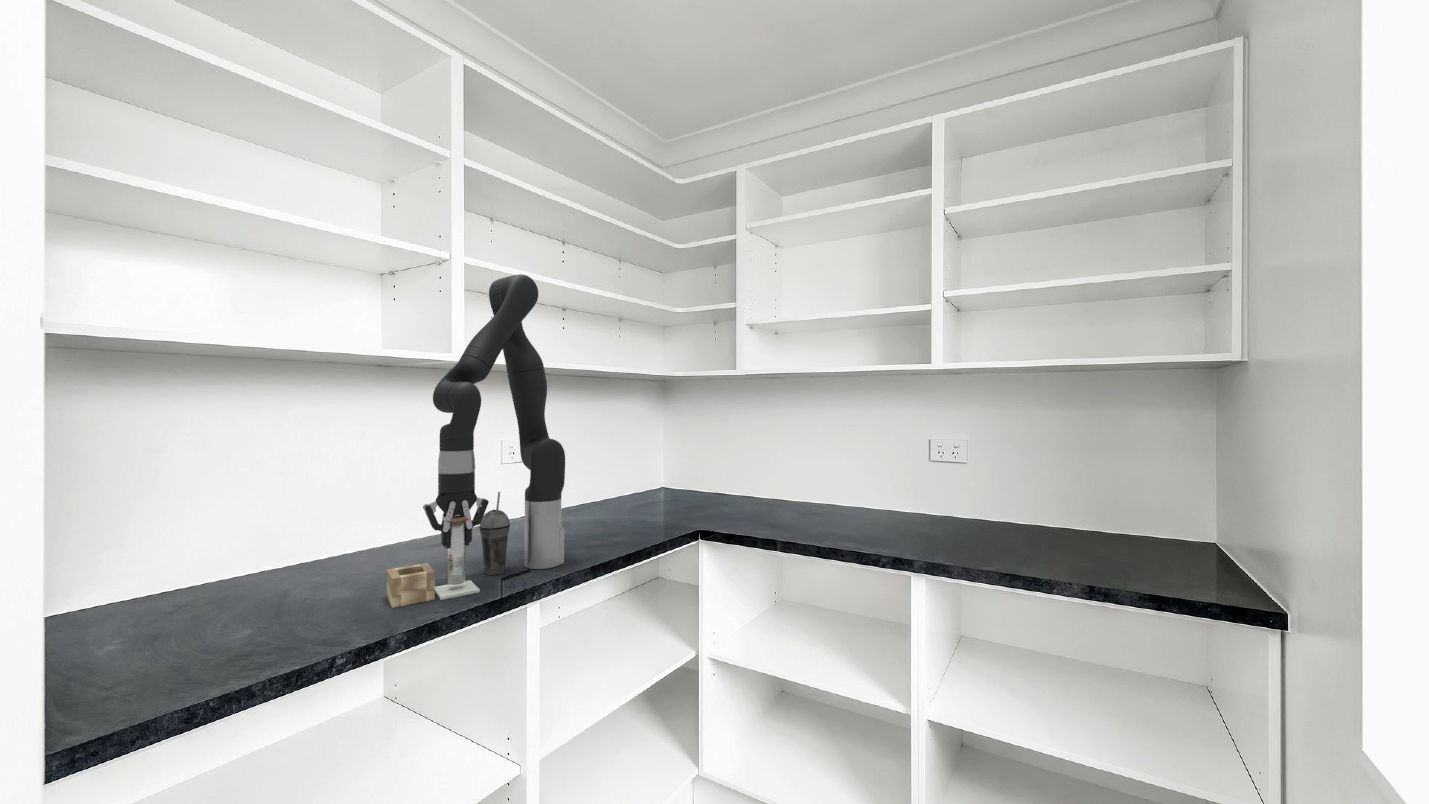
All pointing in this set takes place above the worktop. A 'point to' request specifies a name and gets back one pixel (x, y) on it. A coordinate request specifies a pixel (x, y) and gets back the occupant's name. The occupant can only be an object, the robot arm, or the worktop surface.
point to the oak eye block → (410, 585)
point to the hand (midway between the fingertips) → (456, 546)
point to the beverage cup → (494, 540)
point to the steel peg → (456, 550)
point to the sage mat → (456, 590)
